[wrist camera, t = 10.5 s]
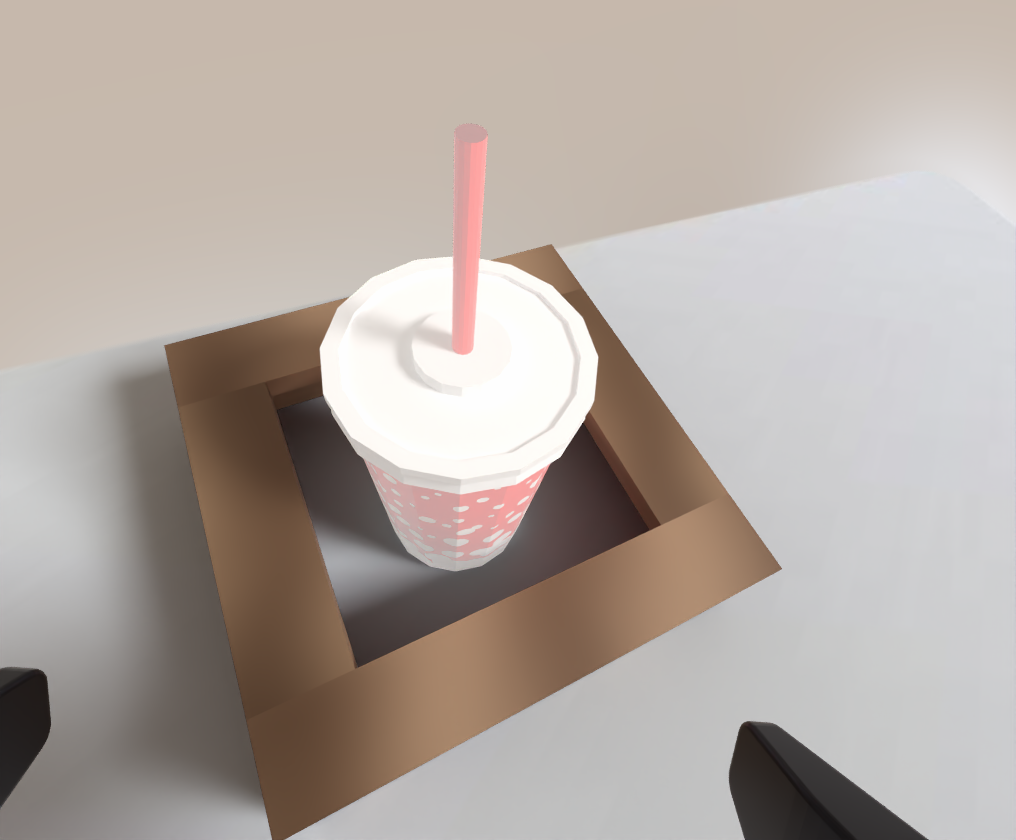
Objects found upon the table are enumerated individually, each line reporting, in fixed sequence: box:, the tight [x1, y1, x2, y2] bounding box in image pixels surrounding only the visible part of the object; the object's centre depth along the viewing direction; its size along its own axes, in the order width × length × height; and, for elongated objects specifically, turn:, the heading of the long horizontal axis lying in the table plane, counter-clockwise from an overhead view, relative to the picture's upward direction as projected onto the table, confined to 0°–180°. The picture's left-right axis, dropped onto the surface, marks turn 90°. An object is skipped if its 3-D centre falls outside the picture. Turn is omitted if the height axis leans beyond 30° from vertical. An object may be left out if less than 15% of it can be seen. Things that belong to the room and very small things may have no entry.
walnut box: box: [164, 245, 782, 840], centre depth 18 cm, size 14×14×4 cm
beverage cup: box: [320, 124, 598, 571], centre depth 14 cm, size 6×6×14 cm
